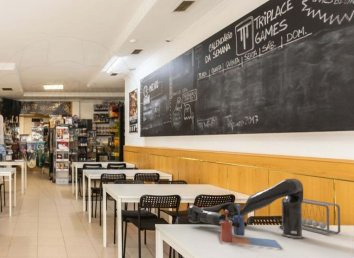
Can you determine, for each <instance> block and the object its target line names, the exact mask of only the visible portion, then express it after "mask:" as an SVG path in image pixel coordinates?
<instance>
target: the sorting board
mask: <svg viewBox="0 0 354 258" xmlns="http://www.w3.org/2000/svg"><path fill="white" fill-rule="evenodd" d="M218 236H219V240H220V242H221V243H224V242H223V241H221V233H220V234H218ZM226 243H228V244H238V245H248V246H255V247H257V246H258V247H265V248H266V247H267V248H276V249H282V246H281V245H280V244H279V243H278V242H277V241H276V240H275V239H269V238H260V237H250V236H249V237H248V236H238V235H232V242H226Z"/></svg>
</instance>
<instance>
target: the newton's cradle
mask: <svg viewBox="0 0 354 258" xmlns="http://www.w3.org/2000/svg"><path fill="white" fill-rule="evenodd" d="M284 199H285V197H282V198H281V220H282V221H281V223H282V224H283V200H284ZM302 204H304V206H308V204H309V205H310V206H316V209H319V211H321V208H320V207H324V208H326V222H324V221H323V218H320V220H321V222H319V221H318V220H317V219H316V217H317V216H318V212H316V214H315V215H313V218H314V220H312V219H311V218H310V215H311V212H312V211H313V213H315V210H314V209H312V210H310V211H309V215H307V217H308V219H307V218H305V217H304V214H305V213H306V210H307V212H308V208H306V210H304V211H303V213H304V214H303V213H302V230H304V231H307V232H313V233H316V234H320V235H325V236H327V235H331V234H335V235H338V234H340V233H341V207H340V205H338V204H337V203H332V202H326V201H320V200H313V199H308V198H303V202H302ZM329 206H335V207H336V208H337V231H335V230H331V229H330V208H329ZM319 213H320V216H324V214H325V210H323V211H322V213H323V215H322V213H321V212H319ZM314 229H315V230H314Z"/></svg>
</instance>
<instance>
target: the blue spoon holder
mask: <svg viewBox="0 0 354 258" xmlns="http://www.w3.org/2000/svg"><path fill="white" fill-rule="evenodd" d="M236 205H237V207H238V215H234V216H233V222H235V223H240V228H238V227H234V226H233V227H232V235H233V236H240V237H245V236H246V232H245V231H246V228H245V227H246V226H245V222H246V220H245V215H244V216H240V210H241V209H242V208H241V207H242V205H241V204H236Z"/></svg>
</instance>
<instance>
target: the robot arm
mask: <svg viewBox="0 0 354 258" xmlns="http://www.w3.org/2000/svg"><path fill="white" fill-rule="evenodd" d="M283 198H285V199H284V200H283V223H282V224H281V225H279V228H280V229H281V230H282V235H283V237H287V238H290V239H291V238H292V239H303V229H302V227H303V226H302V218H303V216H302V214H303V209H302V208H303V207H302V206H303V203H302V202H303V201H304V200H303V199H304V184H303V183H302V182H301V180H299V179H297V178H286V179H283V180H281V181H279V182H278V183H277V184H275V185H273V186H271V187H269V188H265V189H263V190H261V191H258V192H256V193H254V194H252V195H250V196H249V197H248V198H247V200H246V201H245V204H244V206H242V208H240V216H244V217H245V216H246V215H248V214H251V213H253V212H255V211H258V210H261V209H263V208H266V207H268V206H269V205H271V204H272V203H274V202H276V201H277V200H279V199H283ZM237 205H238V204H237V203H236V202H234V201H233V202H225V203H220V204H217V205H213V206H205V207H199V206H197V205H195V204H191V205H189V206H188V208H187V219H188V222H190V223H193V224H194V223H195V224H196V223H199V222H203V223H205V224H210V225H212V226H217V227H220V228H221V221H226V213H225V210H228V211H229V212H228V213H227V221H229V222H232V228H233V226H234V227H238V228H240V223H235V222H233V216H234V215H238V207H237ZM221 211H223V213H220V212H221ZM272 218H273V219H274V220H276V221H278V222H282V219H279V218H276V216H275V215H273V217H272ZM245 227H248V222H246V221H245Z"/></svg>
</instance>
